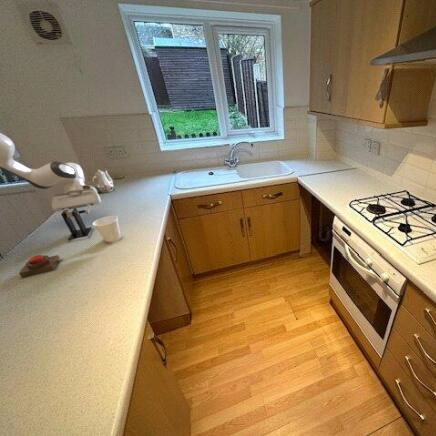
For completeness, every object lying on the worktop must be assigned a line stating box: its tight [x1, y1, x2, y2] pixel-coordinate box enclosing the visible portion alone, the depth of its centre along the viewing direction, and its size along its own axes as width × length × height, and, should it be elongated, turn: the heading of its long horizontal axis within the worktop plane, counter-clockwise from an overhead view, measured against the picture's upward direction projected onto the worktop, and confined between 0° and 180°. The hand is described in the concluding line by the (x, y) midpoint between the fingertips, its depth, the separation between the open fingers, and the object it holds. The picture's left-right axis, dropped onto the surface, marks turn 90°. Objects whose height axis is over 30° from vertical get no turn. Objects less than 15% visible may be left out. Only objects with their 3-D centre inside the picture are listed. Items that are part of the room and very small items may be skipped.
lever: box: [66, 209, 86, 218], centre depth 121 cm, size 12×6×2 cm, turn 26°
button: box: [28, 254, 44, 264], centre depth 98 cm, size 4×4×2 cm
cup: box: [91, 215, 122, 243], centre depth 115 cm, size 10×10×11 cm
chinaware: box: [91, 169, 116, 194], centre depth 176 cm, size 28×17×17 cm, turn 178°
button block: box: [18, 254, 60, 279], centre depth 99 cm, size 10×8×4 cm
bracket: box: [60, 208, 93, 241], centre depth 119 cm, size 10×8×14 cm
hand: (79, 214), depth 126 cm, fingers closed on lever, 6 cm apart
